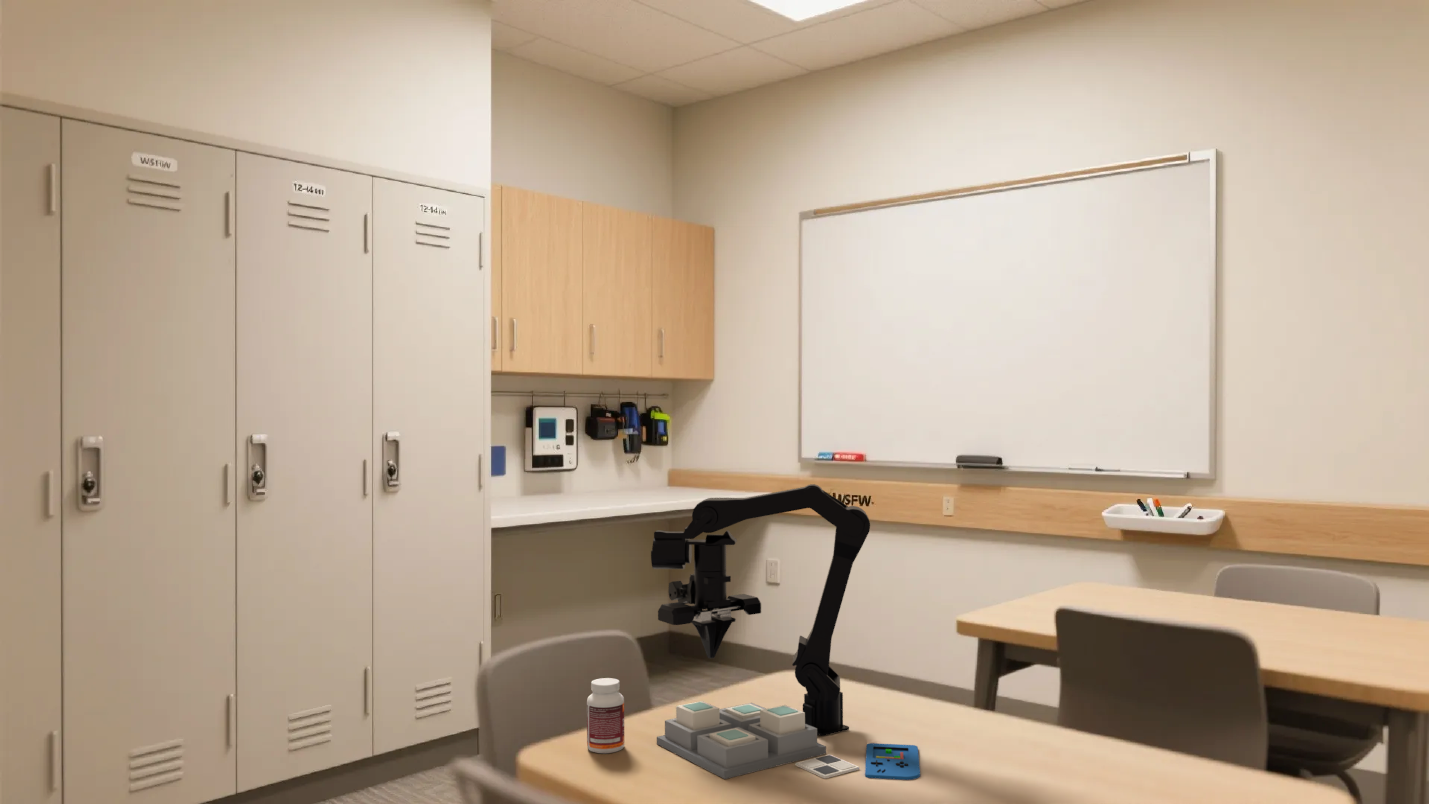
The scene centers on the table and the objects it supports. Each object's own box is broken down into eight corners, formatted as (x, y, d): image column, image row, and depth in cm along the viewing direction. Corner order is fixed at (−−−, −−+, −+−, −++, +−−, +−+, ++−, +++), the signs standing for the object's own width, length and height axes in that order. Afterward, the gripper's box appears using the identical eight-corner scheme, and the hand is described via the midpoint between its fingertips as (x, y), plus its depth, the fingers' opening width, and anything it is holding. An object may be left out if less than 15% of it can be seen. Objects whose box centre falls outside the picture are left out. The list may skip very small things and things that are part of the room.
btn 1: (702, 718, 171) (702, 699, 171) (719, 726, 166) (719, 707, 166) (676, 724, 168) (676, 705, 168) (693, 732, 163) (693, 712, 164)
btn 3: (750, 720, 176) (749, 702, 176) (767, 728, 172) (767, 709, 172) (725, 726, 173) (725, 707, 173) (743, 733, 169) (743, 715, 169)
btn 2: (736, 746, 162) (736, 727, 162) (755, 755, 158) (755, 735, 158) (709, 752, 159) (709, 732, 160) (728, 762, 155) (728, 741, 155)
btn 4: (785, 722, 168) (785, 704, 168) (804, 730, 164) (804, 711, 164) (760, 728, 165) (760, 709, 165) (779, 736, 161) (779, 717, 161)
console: (753, 723, 180) (752, 700, 180) (826, 753, 163) (825, 728, 163) (656, 743, 168) (656, 719, 168) (724, 779, 152) (724, 752, 152)
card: (829, 756, 162) (829, 753, 162) (859, 769, 156) (859, 766, 156) (795, 765, 158) (795, 762, 158) (824, 778, 152) (824, 775, 152)
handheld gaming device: (864, 772, 152) (866, 741, 167) (865, 780, 152) (866, 747, 167) (920, 775, 151) (917, 743, 166) (920, 783, 151) (917, 750, 166)
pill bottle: (631, 750, 166) (631, 682, 166) (597, 757, 162) (597, 688, 162) (613, 740, 171) (613, 674, 171) (580, 746, 167) (580, 680, 167)
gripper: (727, 559, 190) (728, 642, 190) (641, 568, 180) (642, 656, 180) (762, 567, 181) (763, 653, 181) (674, 576, 171) (675, 669, 171)
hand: (710, 657), depth 178 cm, fingers closed
